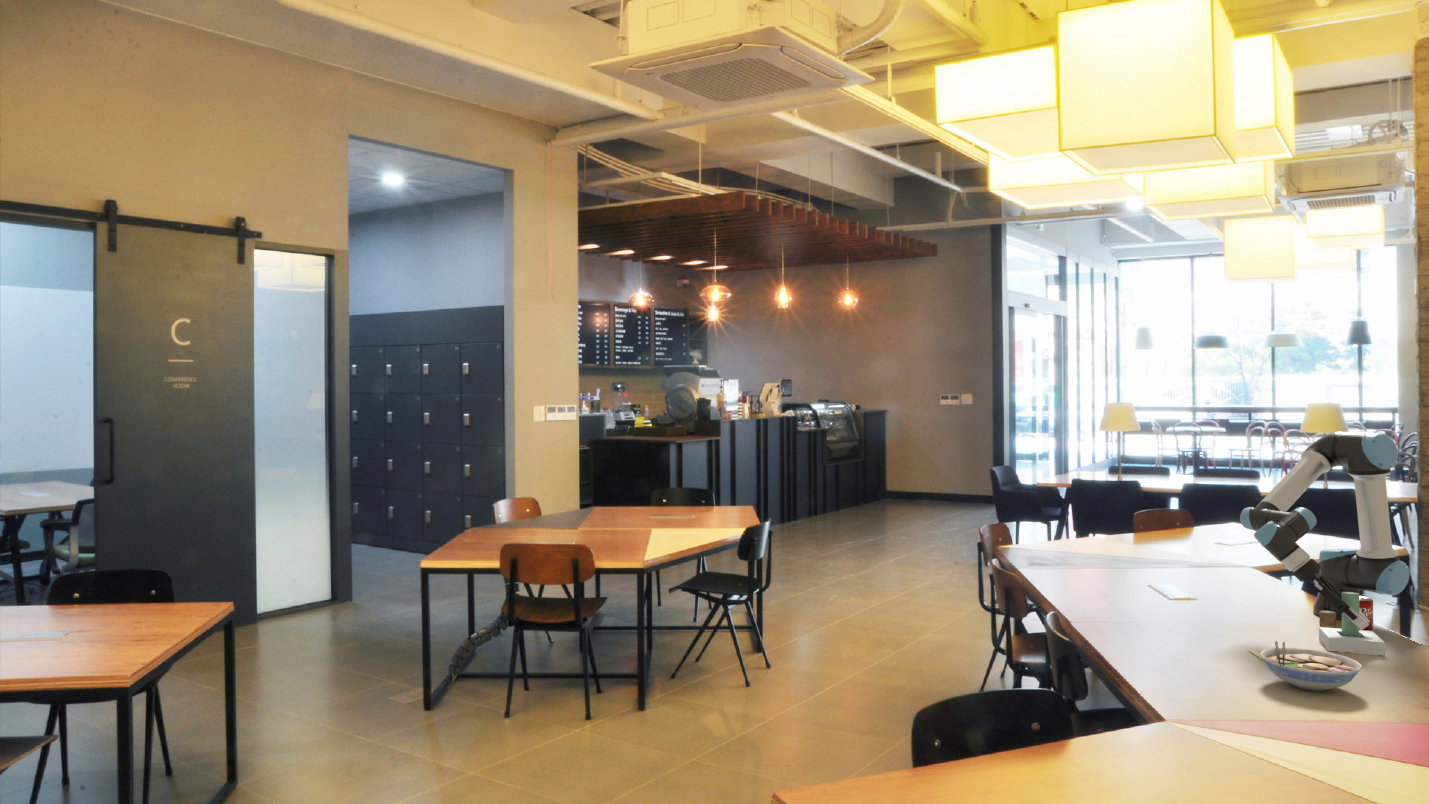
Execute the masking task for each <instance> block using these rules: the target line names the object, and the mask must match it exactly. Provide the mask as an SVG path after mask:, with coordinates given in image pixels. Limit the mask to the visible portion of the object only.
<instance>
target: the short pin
mask: <svg viewBox="0 0 1429 804" xmlns="http://www.w3.org/2000/svg"><path fill="white" fill-rule="evenodd" d="M1319 627H1326V628H1337V619H1336V613H1335V612H1332V611H1320V616H1319Z"/></svg>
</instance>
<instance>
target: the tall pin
mask: <svg viewBox="0 0 1429 804" xmlns="http://www.w3.org/2000/svg"><path fill="white" fill-rule="evenodd" d="M1359 595H1360V593H1359V594H1358V593H1354V592H1342V600H1343V601H1344V602H1345V603H1346V604H1347V605H1348V606H1349V607H1351V608H1352V609H1353V610H1354V611H1355V612H1357V613H1358V614H1359ZM1341 629H1342V636H1347V637H1359V628H1358V627H1357V626H1356V625H1355V624H1354V623H1353V622H1352V621H1351V620H1350V619H1349V618H1348V617H1347V616H1346V615H1345V614H1344V613H1342V620H1341Z"/></svg>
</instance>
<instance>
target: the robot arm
mask: <svg viewBox="0 0 1429 804" xmlns="http://www.w3.org/2000/svg"><path fill="white" fill-rule="evenodd" d="M1398 459H1399V451H1398V447H1397V444H1396V443H1395V441H1394V440H1393V439H1392V438H1391V437H1390V436H1389V435H1387V434H1385V433H1380V432H1378V433H1377V432H1373V431H1369V432H1368V431H1336V432H1331V433H1328V434H1326V435H1324V436H1322V437H1321V438H1318V439H1317V440H1316V441H1314V442H1313V443H1311V445H1309V446H1308V447H1307V448H1305V450H1303V452H1302V453H1301V455H1300V459H1299V461H1298V462H1297V463H1296V464H1295V465H1294V466H1293V467H1292V468H1291V470H1290V471H1288V473H1287V474H1286V475H1285V476H1284V477H1283V478H1281V480H1279V482H1278V483H1277V484H1276V485H1275V486H1274V487H1273V488H1272V489H1271V490H1270V491H1269V492H1268V493H1267V495H1266V496H1265V497H1264V498H1262V500H1261V501H1260V502H1259V503H1258V504H1257V505H1256V507H1253V506H1248V507H1244V508H1243V509H1242V511H1241V513H1240V514H1239V515H1240V516H1239V521H1240V524H1241V525H1242V526H1243V528H1245V529H1246V530H1250V531H1253V532H1254V531H1255V532H1254V534H1253V537H1254V538H1255V539H1256V540H1257V542H1258V543H1259V544H1260V545H1261V546H1262V547H1263V548H1264V549H1265V550H1266V551H1267V552H1269V554H1271V555H1272V556H1273V557H1274V558H1275V559H1276V560H1278V561H1279V562H1280V564H1281V567H1282V568H1286V570H1288V571H1289V572H1292V575H1293V576H1294V577H1295V579H1297V580H1298V581H1299V582H1301V583H1304V582H1305V581H1307V580H1308V581H1309V582H1310V583H1311V586H1312V588H1313V589H1314V590H1315V591H1317V592H1318V593H1317V596H1316V598H1315V602H1314V604H1313V606H1312V607H1313V608H1312V609H1313V611H1312V613H1313V614H1314V615H1317V616H1319V617H1320V611H1332V612H1335V613H1336V620H1341V621H1342V613H1344V614H1345V615H1346V616H1347V617H1348V618H1349V619H1350V620H1351V621H1352V622H1353V623H1354V624H1355V625H1356V626H1357V627H1358V628H1359V629H1360V630H1362V629H1364V628H1365V627H1367V626H1368V625H1369V624H1368V623H1369V622H1370V620H1368V619H1367V618H1366V617H1365V616H1364V615H1363V614H1362V613H1361V612H1360V611H1359V614H1358V613H1357V612H1355V611H1354V610H1353V609H1352V608H1351V607H1349V606H1348V605H1347V604H1346V603H1345V602H1344V601H1343V600H1342V592H1354V593H1358V594H1359V596H1361V595H1360V591H1365V592H1370V593H1375V594H1378V595H1387V596H1396V595H1398V594H1400V593H1402V592H1403V590H1405V588H1406V587H1407V586H1408V583H1409V580H1410V572H1411V571H1410V568H1409V565H1407V563H1405V562H1404V561H1402V560H1400V556H1399V552H1398V551H1397V550H1395V549H1394V548H1393V540H1392V531H1391V521H1390V519H1391V518H1390V509H1389V502H1388V501H1389V500H1388V490H1387V489H1388V488H1387V480H1386V478H1387V476H1388V475H1390V474H1391V469H1392V468H1394V467H1395V466H1396V465H1397V463H1398V461H1397V460H1398ZM1339 466H1340V467H1341V466H1343V467H1347V474H1348V475H1349V476H1350V477H1352V478H1353V481H1354V482H1353V483H1354V492H1355V501H1356V502H1355V503H1356V510H1357V511H1356V513H1357V523H1358V533H1359V541H1360V548H1359V549H1358V548H1357V549H1356V548H1329V549H1323V550H1321V551H1320V552H1319V557H1318V558H1319V559H1318V561H1316V560H1315V559H1314V558H1311V555H1310V554H1309V553H1308V552H1306V550H1304V549H1303V548H1302V547H1301V546H1300V545H1299V544H1298V543H1297V541H1299V540H1300V539H1301V538H1303V536H1304V537H1305V535H1306V534H1308V533H1310V532H1311V530H1313V528H1315V526H1316V525H1317V517H1316V516H1315V514H1314V513H1313V512H1312V511H1311V510H1309V509H1308V508H1306V507H1303V506H1302V507H1301V506H1300V507H1296V508H1295V509H1292V510H1291V511H1288V510H1289V509H1290V508H1291V507H1292V506H1293V505H1295V503H1296V502H1297V500H1299V498H1300V497H1301V496H1302V495H1303V494H1304V493H1305V492H1306V491H1307V490H1308V489H1309V488H1310V486H1311V485H1313V483H1314V482H1315V481H1316V480H1317V479H1318V478H1319V477H1320V476H1321V475H1322V474H1325V473H1328V472H1329V471H1330V470H1332V469H1333V468H1334V467H1339Z"/></svg>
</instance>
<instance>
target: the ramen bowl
mask: <svg viewBox="0 0 1429 804" xmlns="http://www.w3.org/2000/svg"><path fill="white" fill-rule="evenodd" d="M1278 642H1279V641H1276V640H1275V641H1274V644H1275V647H1272V648H1267V649H1264V650H1262V651H1261V652H1260V653H1259V655H1260V657H1261V659H1262V661H1263V662H1264V664H1266V666H1267V667H1268V669H1269V670H1270V672H1272V674H1273V675H1274V676H1276V677H1278V679H1280V680H1283V681H1285V682H1286V683H1289V684H1291V685H1292V686H1294V687H1296V688H1298V689H1302V690H1304V689H1305V691H1311V690H1313V691H1312V692H1323V691H1327V690H1331V689H1337V688H1340V687H1344V686H1346V685H1347V684H1349V683H1350V682H1351V681H1352V680H1353V679H1354V678H1355V677H1356V676H1357V675H1358V673H1359V672H1360V671H1361V669H1362V667H1363V665H1362V664H1361V663H1360V662H1359V661H1357V660H1355V659H1352V658H1350V657H1347V656H1345V655H1341V654H1337V653H1332V652H1330V651H1323V650H1317V649H1310V648H1298V647H1297V648H1296V647H1286V642H1285V641H1282V647H1279V643H1278Z"/></svg>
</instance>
